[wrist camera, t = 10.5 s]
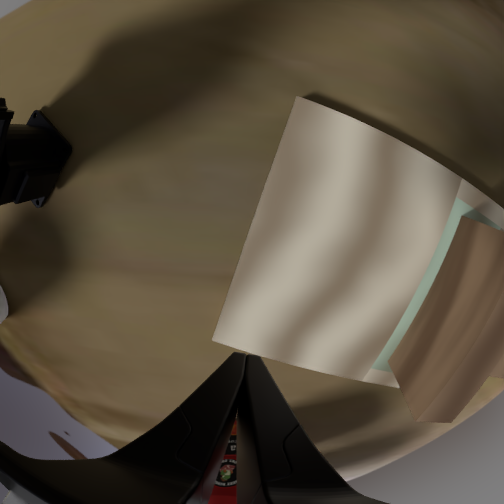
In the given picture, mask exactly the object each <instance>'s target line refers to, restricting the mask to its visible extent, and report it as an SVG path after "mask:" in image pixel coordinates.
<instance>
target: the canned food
mask: <svg viewBox="0 0 504 504" xmlns="http://www.w3.org/2000/svg"><path fill="white" fill-rule="evenodd" d="M208 504H237V421H235V423H234V426H233V429H232V432H231V435H230V438H229V442H228V445H227V448H226V451H225V454H224V457H223V460H222V463H221V466H220V469H219V472H218V475H217V478H216V481H215V484H214V487H213V490H212V493H211V496H210V499H209V501H208Z"/></svg>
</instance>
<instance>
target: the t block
mask: <svg viewBox="0 0 504 504" xmlns="http://www.w3.org/2000/svg"><path fill="white" fill-rule="evenodd" d="M388 364H389V366H390V368H391V370H392V372H393V374H394V376H395V378H396V380H397V382H398V384H399V387H400V389H401V391H402V393H403V395H404V397H405V400H406V402H407V404H408V406H409V409H410V411H411V413H412V415H413V418H414V420H415V422H437V423H451V422H452V421H453V420H454V419H455V418H456V417H457V415H458V414H459V413H460V412H461V411H462V410H463V409H464V407H465V406H466V405H467V404H468V403H469V401H470V400H471V399H472V398H473V396H474V395H475V394H476V393H477V391H478V390H479V389H480V387H481V386H482V385H483V383H484V382H485V381H486V379H487V378H488V376H491V377H497V378H504V232H503V231H501V230H498V229H496V228H493V227H491V226H488V225H486V224H483V223H481V222H478V221H475V220H473V219H470V218H468V217H465V216H461V219H460V221H459V224H458V226H457V229H456V232H455V234H454V237H453V239H452V242H451V244H450V246H449V249H448V251H447V253H446V256H445V258H444V260H443V262H442V265H441V267H440V269H439V271H438V273H437V275H436V277H435V279H434V281H433V283H432V285H431V287H430V289H429V291H428V293H427V295H426V297H425V299H424V301H423V303H422V305H421V307H420V308H419V310H418V312H417V314H416V316H415V317H414V319H413V321H412V323H411V324H410V326H409V328H408V330H407V331H406V333H405V335H404V336H403V338H402V340H401V341H400V343H399V344H398V346H397V348H396V349H395V351H394V352H393V354H392V355H391V357H390V358H389V360H388Z"/></svg>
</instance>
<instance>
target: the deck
mask: <svg viewBox="0 0 504 504" xmlns="http://www.w3.org/2000/svg"><path fill="white" fill-rule="evenodd" d="M461 216H465V217H468V218H470V219H473V220H475V221H478V222H481V223H483V224H486V225H488V226H491V227H493V228H496V229H498V230H501V231H503V232H504V209H503V208H502V207H501V206H499V205H498V204H497V203H496V202H494V201H493V200H492V199H490V198H489V197H488V196H486V195H485V194H484V193H482V192H481V191H480V190H478V189H477V188H475V187H474V186H473V185H471V184H470V183H468V182H467V181H465V180H464V179H463V178H461V177H460V176H458V175H457V174H455V173H454V172H452V171H450V170H449V169H447V168H446V167H444V166H443V165H441V164H439V163H438V162H436V161H434V160H433V159H431V158H429V157H428V156H426V155H424V154H423V153H421V152H419V151H417V150H416V149H414V148H412V147H410V146H409V145H407V144H405V143H403V142H401V141H399V140H397V139H395V138H394V137H392V136H390V135H388V134H386V133H384V132H382V131H380V130H378V129H376V128H374V127H371V126H369V125H367V124H365V123H363V122H361V121H358V120H356V119H354V118H352V117H349V116H347V115H345V114H343V113H340V112H338V111H335V110H333V109H330V108H328V107H325V106H323V105H320V104H318V103H315V102H312V101H310V100H307V99H304V98H301V97H299V96H297V97H296V100H295V103H294V105H293V108H292V111H291V114H290V117H289V119H288V122H287V125H286V128H285V131H284V133H283V136H282V139H281V142H280V145H279V147H278V150H277V153H276V156H275V159H274V162H273V164H272V167H271V170H270V173H269V176H268V179H267V181H266V184H265V187H264V190H263V193H262V196H261V199H260V201H259V204H258V207H257V210H256V213H255V216H254V219H253V221H252V224H251V227H250V230H249V233H248V236H247V239H246V242H245V245H244V248H243V250H242V253H241V256H240V259H239V262H238V265H237V268H236V271H235V274H234V277H233V280H232V283H231V285H230V288H229V291H228V294H227V297H226V300H225V303H224V306H223V309H222V312H221V315H220V318H219V321H218V324H217V327H216V330H215V333H214V336H213V339H212V341H215V342H218V343H221V344H224V345H227V346H230V347H233V348H236V349H240V350H243V351H246V352H249V353H253V354H256V355H259V356H263V357H266V358H269V359H273V360H276V361H280V362H284V363H287V364H291V365H295V366H299V367H302V368H306V369H310V370H314V371H318V372H323V373H327V374H331V375H336V376H340V377H345V378H349V379H354V380H359V381H364V382H369V383H374V384H380V385H385V386H391V387H397V388H400V387H399V384H398V382H397V380H396V378H395V376H394V374H393V372H392V370H391V368H390V366H389V364H388V360H389V358H390V357H391V355H392V354H393V352H394V351H395V349H396V348H397V346H398V344H399V343H400V341H401V340H402V338H403V336H404V335H405V333H406V331H407V330H408V328H409V326H410V324H411V323H412V321H413V319H414V317H415V316H416V314H417V312H418V310H419V308H420V307H421V305H422V303H423V301H424V299H425V297H426V295H427V293H428V291H429V289H430V287H431V285H432V283H433V281H434V279H435V277H436V275H437V273H438V271H439V269H440V267H441V265H442V262H443V260H444V258H445V256H446V253H447V251H448V249H449V246H450V244H451V242H452V239H453V237H454V234H455V232H456V229H457V226H458V224H459V221H460V219H461Z"/></svg>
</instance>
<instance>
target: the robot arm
mask: <svg viewBox="0 0 504 504" xmlns="http://www.w3.org/2000/svg"><path fill="white" fill-rule="evenodd" d="M7 109H8V108H7V106H6V102H5V98H0V205H3V204H7V203H11V202H14V203H15V204H19V203H22V202H26V201H30V200H31V201H32V203H33V204H34V205H35V206H36V207H37V208H40V207H42V206H43V205H44V203H45V201H46V199H47V197H48V196H49V194H50V192H51V190H52V188H53V186H54V184H55V182H56V181H57V179H58V177H59V175H60V173H61V170H62V168H63V166H64V165H65V163H66V161H67V159H68V158H69V156H70V154H71V152H72V146H71V145H70V143H69V142H68V141H67V140H66V139H65V138H64V137H63V136H62V135H61V134H60V132H59V131H58V130H57V129H56V128H55V127H54V126H53V125H52V124H51V122H50V121H49V120H48V119H47V118H46V117H45V116H44V115H43V113H42V112H41V111H40V110H35V111H34V112H33V113H32V115H31V117H30V119H29V120H28V122H27V124H26V125H23V124H10V122H11V119H13V115H14V111H11V110H7ZM36 115H37V116H36ZM66 148H67V152H66ZM237 410H238V412H237ZM236 415H237V504H389V503H385V502H382V501H378V500H375V499H372V498H369V497H366V496H364V495H362V494H360V493H358V492H357V491H355V490H354V489H353V488H352V487H350V486H349V485H348V484H347V483H346V481H345V480H344V479H343V478H342V477H341V476H340V475H339V474H338V473H337V471H336V470H335V469H334V468H333V467H332V466H331V465H330V464H329V462H328V461H327V460H326V459H325V458H324V457H323V455H322V454H321V453H320V452H319V451H318V449H317V448H316V447H315V445H314V444H313V443H312V441H311V440H310V438H309V437H308V435H307V434H306V432H305V431H304V429H303V427H302V426H301V425H300V423H299V421H298V419H297V418H296V416H295V415H294V413H293V411H292V410H291V408H290V406H289V405H288V403H287V401H286V400H285V398H284V396H283V395H282V393H281V391H280V390H279V388H278V386H277V384H276V383H275V381H274V379H273V378H272V376H271V374H270V373H269V371H268V369H267V367H266V366H265V364H264V362H263V360H262V359H261V357H260V356H258V355H252V354H248V355H247V357H246V354H245V353H239V352H233V353H232V354H231V355H230V356H229V357H228V358H227V359H226V360H225V361H224V362H223V363H222V364H221V366H220V367H219V368H218V369H217V370H216V371H215V372H213V373H212V374H211V375H210V376H209V377H208V378H207V379H206V380H205V381H204V382H203V383H202V384H201V385H200V386H199V387H198V388H197V389H196V390H195V391H194V392H193V393H192V394H191V395H190V396H189V397H188V398H187V399H186V400H185V401H184V402H183V403H182V404H181V405H180V406H179V407H177V408H176V409H175V410H174V411H173V412H172V413H171V414H170V415H168V416H167V417H166V418H165V419H164V420H163V421H161V422H160V423H159V424H157V425H156V426H155V427H153V428H152V429H150V430H149V431H148V432H146V433H145V434H143V435H141V436H140V437H138V438H137V439H135V440H134V441H132V442H131V443H129V444H127V445H126V446H124V447H123V448H121V449H119V450H118V451H116V452H114V453H112V454H110V455H108V456H105V457H102V458H96V459H79V460H40V459H33V458H29V457H26V456H24V455H21V454H19V453H18V452H16V451H14V450H13V449H12V448H10V447H9V446H7V445H6V444H5V443H3V442H1V441H0V482H1V483H2V484H3V485H4V486H5V487H6V488H7V489H8V490H9V492H8V494H7V495H6V497H5V499H4V500H3V502H2V504H208V501H209V499H210V496H211V493H212V490H213V487H214V484H215V481H216V478H217V475H218V472H219V469H220V466H221V463H222V460H223V457H224V454H225V451H226V448H227V445H228V442H229V438H230V435H231V432H232V429H233V426H234V423H235V419H236Z"/></svg>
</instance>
